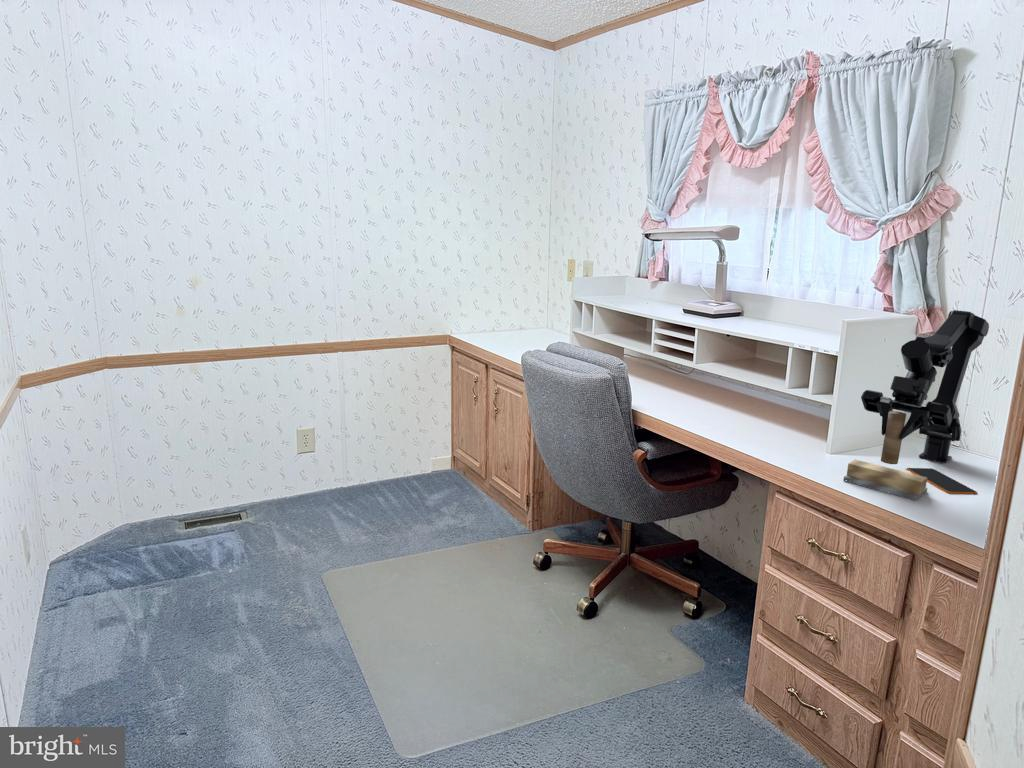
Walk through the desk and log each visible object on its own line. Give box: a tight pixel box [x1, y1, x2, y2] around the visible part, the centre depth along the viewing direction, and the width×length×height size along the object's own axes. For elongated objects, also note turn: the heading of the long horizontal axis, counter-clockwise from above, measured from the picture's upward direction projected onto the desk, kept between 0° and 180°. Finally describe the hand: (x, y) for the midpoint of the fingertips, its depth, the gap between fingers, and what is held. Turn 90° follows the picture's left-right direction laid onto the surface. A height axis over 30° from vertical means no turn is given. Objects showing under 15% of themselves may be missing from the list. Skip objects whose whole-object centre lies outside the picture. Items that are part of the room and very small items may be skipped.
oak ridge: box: [842, 459, 928, 501], centre depth 162 cm, size 16×8×4 cm, turn 44°
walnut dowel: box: [880, 410, 907, 465], centre depth 160 cm, size 4×4×12 cm
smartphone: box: [905, 467, 979, 495], centre depth 167 cm, size 8×17×1 cm, turn 3°
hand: (891, 436), depth 159 cm, fingers closed on walnut dowel, 4 cm apart
